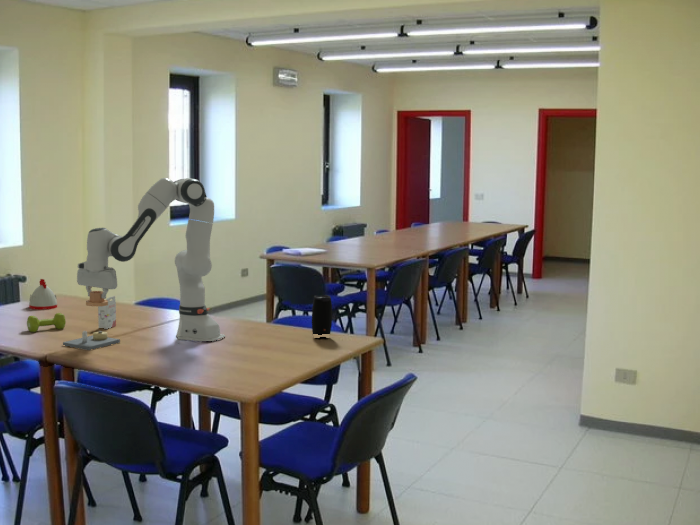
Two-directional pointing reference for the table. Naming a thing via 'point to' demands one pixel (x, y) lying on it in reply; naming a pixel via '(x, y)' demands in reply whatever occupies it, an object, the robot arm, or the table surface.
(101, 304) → the octagonal tube stub
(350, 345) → the table surface
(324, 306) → the portable speaker
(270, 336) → the table surface
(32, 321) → the dumbbell
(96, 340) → the carrier plate
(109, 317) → the ink cartridge box
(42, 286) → the white and red dome
